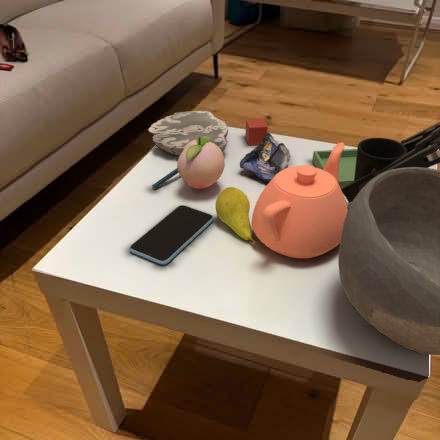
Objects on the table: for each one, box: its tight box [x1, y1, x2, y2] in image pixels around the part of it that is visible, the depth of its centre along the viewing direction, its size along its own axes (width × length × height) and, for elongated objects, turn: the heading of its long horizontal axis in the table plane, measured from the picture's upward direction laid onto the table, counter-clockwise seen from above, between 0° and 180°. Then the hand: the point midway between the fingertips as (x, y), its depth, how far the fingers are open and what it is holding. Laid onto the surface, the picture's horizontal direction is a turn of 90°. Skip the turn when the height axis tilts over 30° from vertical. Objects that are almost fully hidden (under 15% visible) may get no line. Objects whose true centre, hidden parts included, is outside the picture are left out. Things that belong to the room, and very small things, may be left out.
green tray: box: [311, 148, 357, 189], centre depth 91 cm, size 12×12×2 cm
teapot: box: [251, 141, 348, 259], centre depth 73 cm, size 22×15×12 cm
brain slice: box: [147, 110, 229, 157], centre depth 100 cm, size 20×17×3 cm
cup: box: [354, 137, 407, 182], centre depth 78 cm, size 8×8×12 cm
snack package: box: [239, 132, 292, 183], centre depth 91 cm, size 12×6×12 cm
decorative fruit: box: [176, 136, 226, 190], centre depth 84 cm, size 9×8×10 cm
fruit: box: [215, 186, 258, 245], centre depth 77 cm, size 6×6×12 cm
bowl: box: [337, 167, 440, 356], centre depth 59 cm, size 24×24×15 cm
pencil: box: [151, 167, 179, 191], centre depth 90 cm, size 1×1×15 cm
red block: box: [245, 118, 269, 146], centre depth 101 cm, size 4×4×4 cm
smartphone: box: [129, 204, 214, 265], centre depth 77 cm, size 7×1×15 cm
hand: (354, 184), depth 80 cm, fingers closed on cup, 8 cm apart
